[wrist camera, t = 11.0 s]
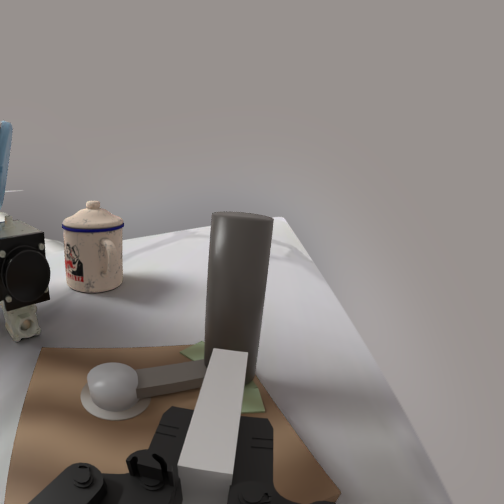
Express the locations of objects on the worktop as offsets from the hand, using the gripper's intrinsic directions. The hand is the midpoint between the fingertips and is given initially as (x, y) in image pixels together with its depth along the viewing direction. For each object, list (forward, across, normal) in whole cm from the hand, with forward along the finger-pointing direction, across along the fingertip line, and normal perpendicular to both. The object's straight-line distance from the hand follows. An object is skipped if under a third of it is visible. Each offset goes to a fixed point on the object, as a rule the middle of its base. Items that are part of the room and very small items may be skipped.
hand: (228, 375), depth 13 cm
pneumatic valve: (+9, -23, -8) cm, 26 cm away
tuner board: (+2, -5, -8) cm, 10 cm away
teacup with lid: (+25, -21, -8) cm, 34 cm away
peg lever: (+6, -4, -6) cm, 10 cm away
